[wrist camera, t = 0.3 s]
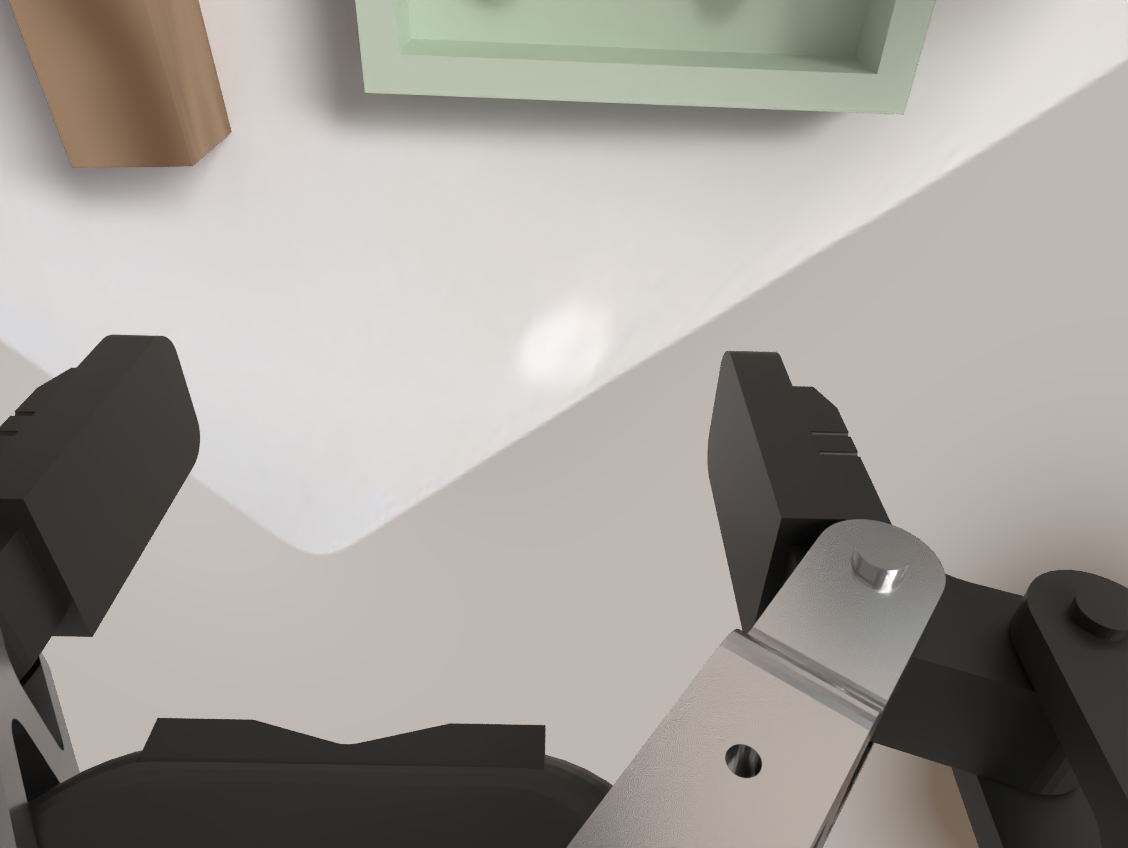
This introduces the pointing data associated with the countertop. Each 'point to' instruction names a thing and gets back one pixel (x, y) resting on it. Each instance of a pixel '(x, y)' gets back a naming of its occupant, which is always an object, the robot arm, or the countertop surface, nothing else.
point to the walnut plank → (126, 79)
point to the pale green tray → (650, 51)
